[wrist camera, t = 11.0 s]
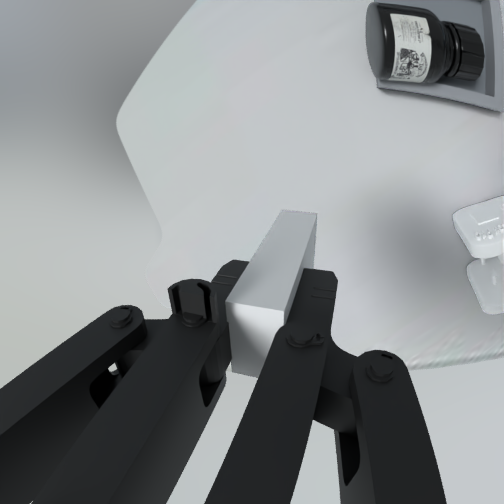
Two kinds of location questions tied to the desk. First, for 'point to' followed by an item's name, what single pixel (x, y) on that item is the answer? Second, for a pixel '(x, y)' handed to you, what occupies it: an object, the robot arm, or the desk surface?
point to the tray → (495, 50)
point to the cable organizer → (484, 250)
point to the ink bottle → (420, 45)
